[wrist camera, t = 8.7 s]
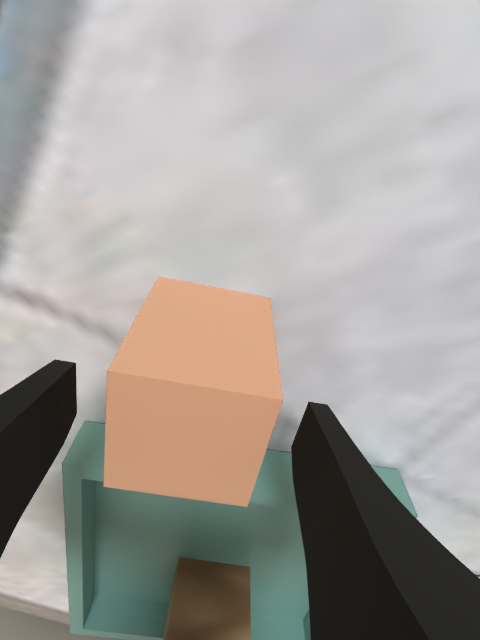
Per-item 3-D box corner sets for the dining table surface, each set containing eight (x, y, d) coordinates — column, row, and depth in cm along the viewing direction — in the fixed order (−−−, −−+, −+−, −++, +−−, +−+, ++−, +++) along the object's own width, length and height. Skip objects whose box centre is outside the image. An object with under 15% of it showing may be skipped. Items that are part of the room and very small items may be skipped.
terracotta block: (270, 297, 15) (283, 399, 9) (246, 383, 17) (247, 506, 11) (158, 276, 14) (107, 370, 9) (149, 367, 16) (103, 486, 11)
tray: (398, 469, 19) (417, 515, 17) (309, 616, 27) (315, 660, 25) (84, 420, 18) (61, 463, 16) (85, 589, 26) (70, 633, 23)
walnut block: (250, 566, 23) (251, 702, 18) (235, 601, 25) (232, 732, 20) (179, 557, 22) (158, 692, 17) (170, 593, 24) (149, 724, 19)
